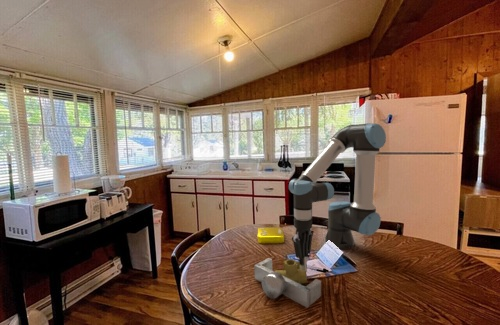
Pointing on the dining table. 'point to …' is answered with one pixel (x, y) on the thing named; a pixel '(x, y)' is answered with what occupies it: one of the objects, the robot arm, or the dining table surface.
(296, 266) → the brass pipe tee
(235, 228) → the dining table surface
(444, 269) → the dining table surface
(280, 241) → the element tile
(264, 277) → the grey bracket with knob
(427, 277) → the dining table surface
